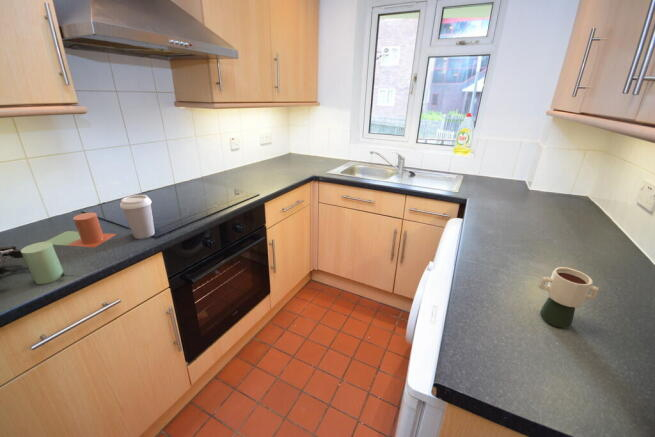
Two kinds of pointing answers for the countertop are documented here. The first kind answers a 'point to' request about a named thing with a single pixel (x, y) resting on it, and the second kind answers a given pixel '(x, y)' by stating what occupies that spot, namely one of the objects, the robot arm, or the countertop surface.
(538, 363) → the countertop surface
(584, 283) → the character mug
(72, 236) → the board
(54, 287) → the countertop surface
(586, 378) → the countertop surface
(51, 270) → the mint green cylinder
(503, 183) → the countertop surface
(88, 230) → the orange cylinder on base
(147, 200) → the coffee cup
